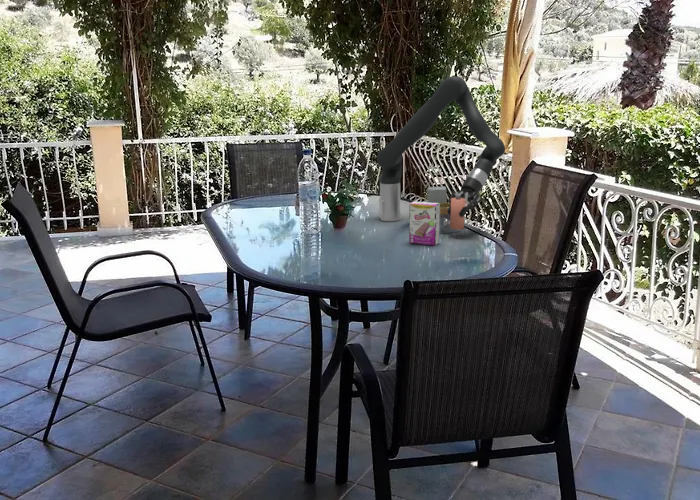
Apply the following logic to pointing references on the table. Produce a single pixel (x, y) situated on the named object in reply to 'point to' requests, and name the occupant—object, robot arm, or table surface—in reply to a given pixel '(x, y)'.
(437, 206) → the candy bar box
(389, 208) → the robot arm
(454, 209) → the oil can
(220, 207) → the table surface
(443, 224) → the grey tan open box
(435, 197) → the skincare box
